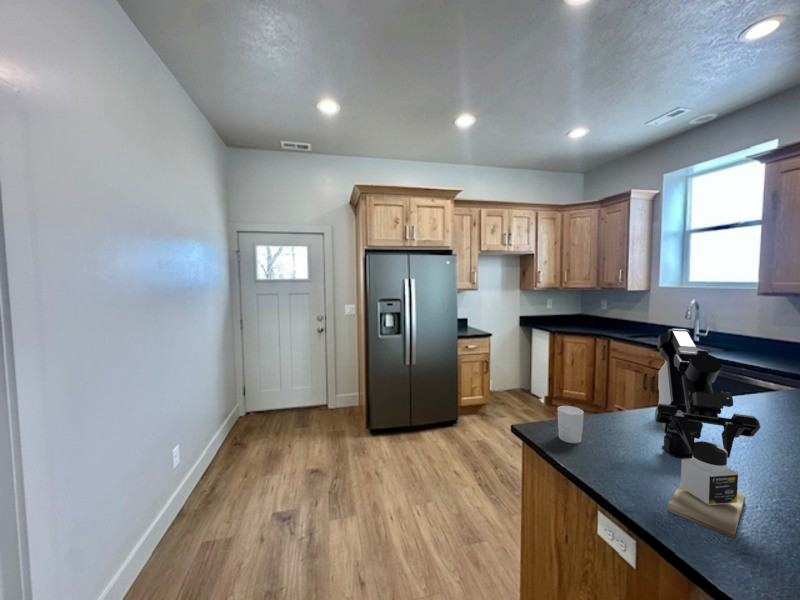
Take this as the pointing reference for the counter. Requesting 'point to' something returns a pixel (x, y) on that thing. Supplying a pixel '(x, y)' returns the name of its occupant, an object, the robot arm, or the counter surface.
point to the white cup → (570, 424)
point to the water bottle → (664, 385)
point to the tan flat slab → (707, 511)
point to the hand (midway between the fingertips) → (709, 454)
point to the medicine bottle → (709, 475)
